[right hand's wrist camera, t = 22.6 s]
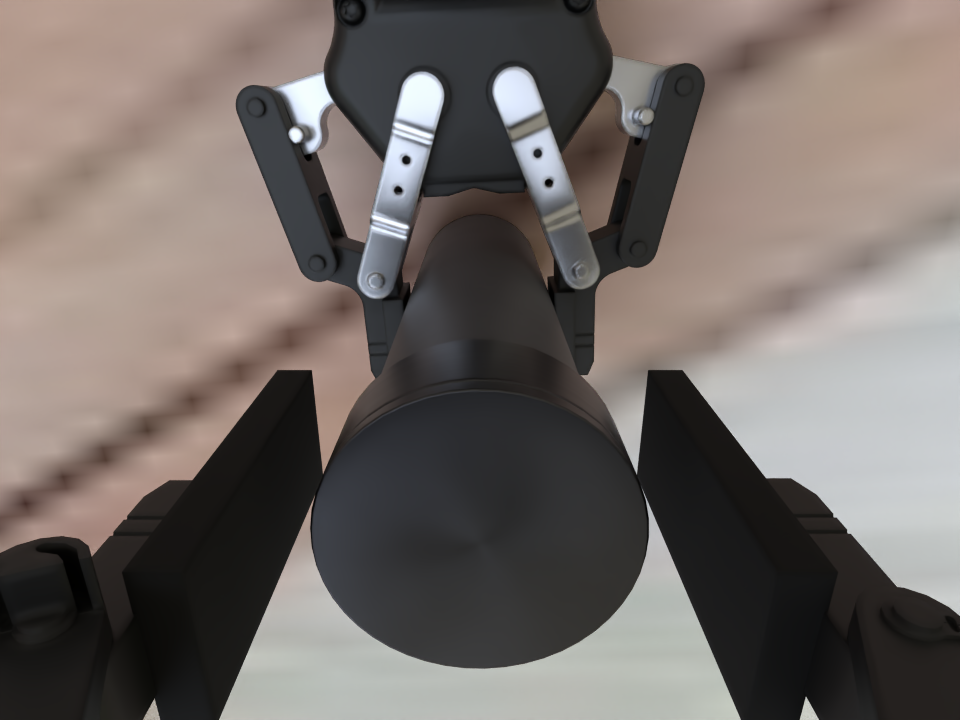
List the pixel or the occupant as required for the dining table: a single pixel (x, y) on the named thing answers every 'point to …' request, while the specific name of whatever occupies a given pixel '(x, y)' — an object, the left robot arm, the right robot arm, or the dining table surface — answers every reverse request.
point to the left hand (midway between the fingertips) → (484, 384)
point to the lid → (479, 508)
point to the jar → (479, 293)
